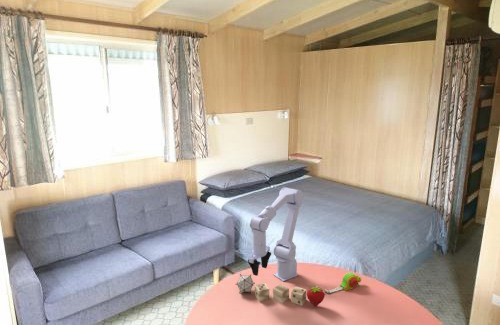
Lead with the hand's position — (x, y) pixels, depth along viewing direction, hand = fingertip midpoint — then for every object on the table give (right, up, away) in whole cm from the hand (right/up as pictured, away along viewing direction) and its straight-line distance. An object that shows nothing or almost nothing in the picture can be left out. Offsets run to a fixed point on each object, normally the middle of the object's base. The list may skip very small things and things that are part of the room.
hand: (260, 271), depth 155 cm
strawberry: (+23, -12, -10) cm, 28 cm away
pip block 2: (+17, -11, -6) cm, 21 cm away
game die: (-7, -10, +2) cm, 12 cm away
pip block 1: (+1, -11, -2) cm, 11 cm away
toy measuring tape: (+39, -9, +4) cm, 40 cm away
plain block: (+9, -11, -4) cm, 15 cm away
